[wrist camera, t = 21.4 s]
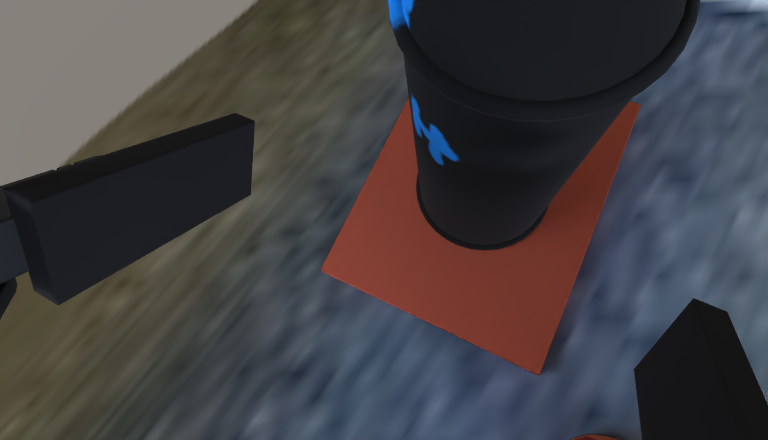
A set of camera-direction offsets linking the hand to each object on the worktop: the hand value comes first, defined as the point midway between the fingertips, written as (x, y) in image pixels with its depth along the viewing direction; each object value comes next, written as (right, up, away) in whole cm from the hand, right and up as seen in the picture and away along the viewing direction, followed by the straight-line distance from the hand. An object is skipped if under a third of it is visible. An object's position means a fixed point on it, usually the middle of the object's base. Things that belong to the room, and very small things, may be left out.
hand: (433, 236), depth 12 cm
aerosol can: (+5, +3, +14) cm, 15 cm away
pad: (+5, +2, +15) cm, 16 cm away
